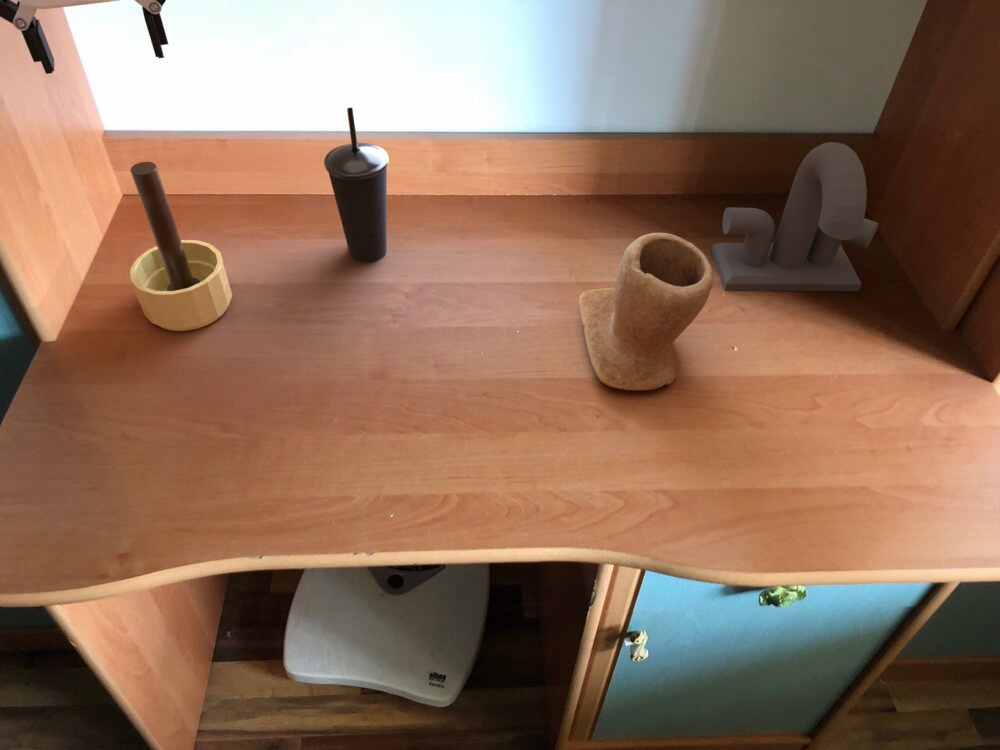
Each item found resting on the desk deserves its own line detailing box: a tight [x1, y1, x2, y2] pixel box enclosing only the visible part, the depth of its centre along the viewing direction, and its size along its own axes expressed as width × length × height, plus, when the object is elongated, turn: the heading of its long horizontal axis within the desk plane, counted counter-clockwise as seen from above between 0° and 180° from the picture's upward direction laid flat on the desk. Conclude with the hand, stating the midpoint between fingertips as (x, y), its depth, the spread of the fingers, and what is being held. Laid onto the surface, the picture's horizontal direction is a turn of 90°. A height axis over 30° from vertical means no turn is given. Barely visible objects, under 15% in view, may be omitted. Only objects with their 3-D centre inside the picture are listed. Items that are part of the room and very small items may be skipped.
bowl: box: [129, 239, 233, 332], centre depth 94 cm, size 10×10×6 cm
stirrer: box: [130, 161, 200, 291], centre depth 89 cm, size 4×4×18 cm
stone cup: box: [578, 232, 714, 392], centre depth 87 cm, size 15×12×15 cm
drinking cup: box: [323, 107, 390, 263], centre depth 97 cm, size 8×8×20 cm
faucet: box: [710, 141, 879, 292], centre depth 94 cm, size 18×16×20 cm
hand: (105, 59), depth 75 cm, fingers open, 9 cm apart
